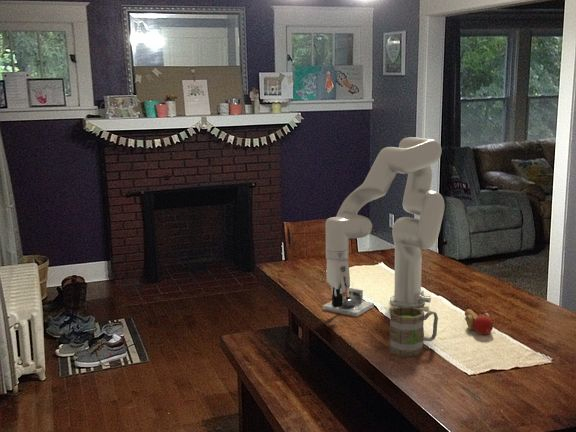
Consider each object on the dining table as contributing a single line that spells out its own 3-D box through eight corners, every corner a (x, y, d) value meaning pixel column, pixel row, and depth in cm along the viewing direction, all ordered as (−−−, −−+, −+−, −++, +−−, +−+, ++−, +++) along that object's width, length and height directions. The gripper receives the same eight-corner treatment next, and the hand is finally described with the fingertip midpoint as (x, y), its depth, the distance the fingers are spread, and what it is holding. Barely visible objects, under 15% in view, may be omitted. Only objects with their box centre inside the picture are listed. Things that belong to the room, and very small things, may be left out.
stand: (373, 306, 235) (373, 291, 234) (356, 317, 226) (356, 300, 225) (340, 300, 244) (340, 284, 242) (322, 309, 234) (322, 293, 233)
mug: (397, 359, 191) (398, 320, 189) (382, 345, 202) (382, 308, 199) (445, 351, 196) (446, 313, 193) (428, 338, 206) (429, 302, 203)
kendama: (455, 321, 223) (472, 334, 205) (458, 303, 223) (475, 315, 205) (477, 324, 224) (496, 338, 206) (480, 306, 223) (499, 318, 205)
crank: (344, 300, 238) (344, 280, 236) (358, 302, 234) (358, 282, 233) (326, 309, 228) (325, 289, 227) (340, 313, 225) (340, 291, 223)
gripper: (356, 258, 213) (356, 311, 217) (338, 247, 227) (338, 298, 231) (335, 260, 211) (335, 314, 215) (318, 249, 225) (319, 300, 228)
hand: (337, 306), depth 223 cm, fingers closed
